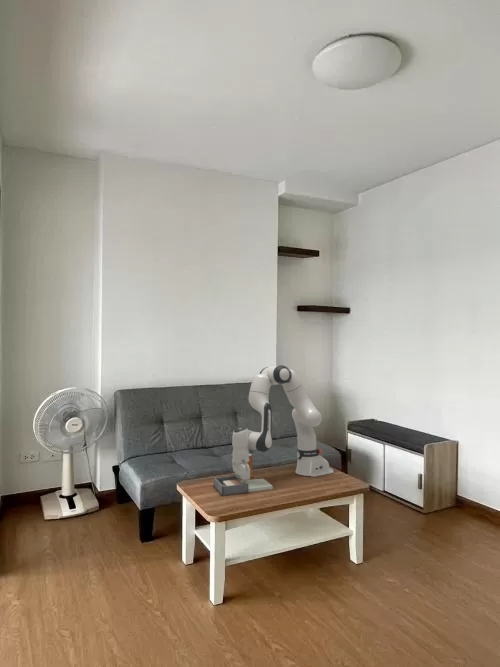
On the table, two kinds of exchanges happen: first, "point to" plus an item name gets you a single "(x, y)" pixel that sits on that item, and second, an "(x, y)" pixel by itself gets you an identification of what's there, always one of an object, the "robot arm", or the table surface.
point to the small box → (249, 464)
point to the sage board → (258, 485)
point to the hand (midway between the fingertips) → (241, 484)
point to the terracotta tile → (235, 482)
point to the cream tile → (227, 483)
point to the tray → (229, 489)
